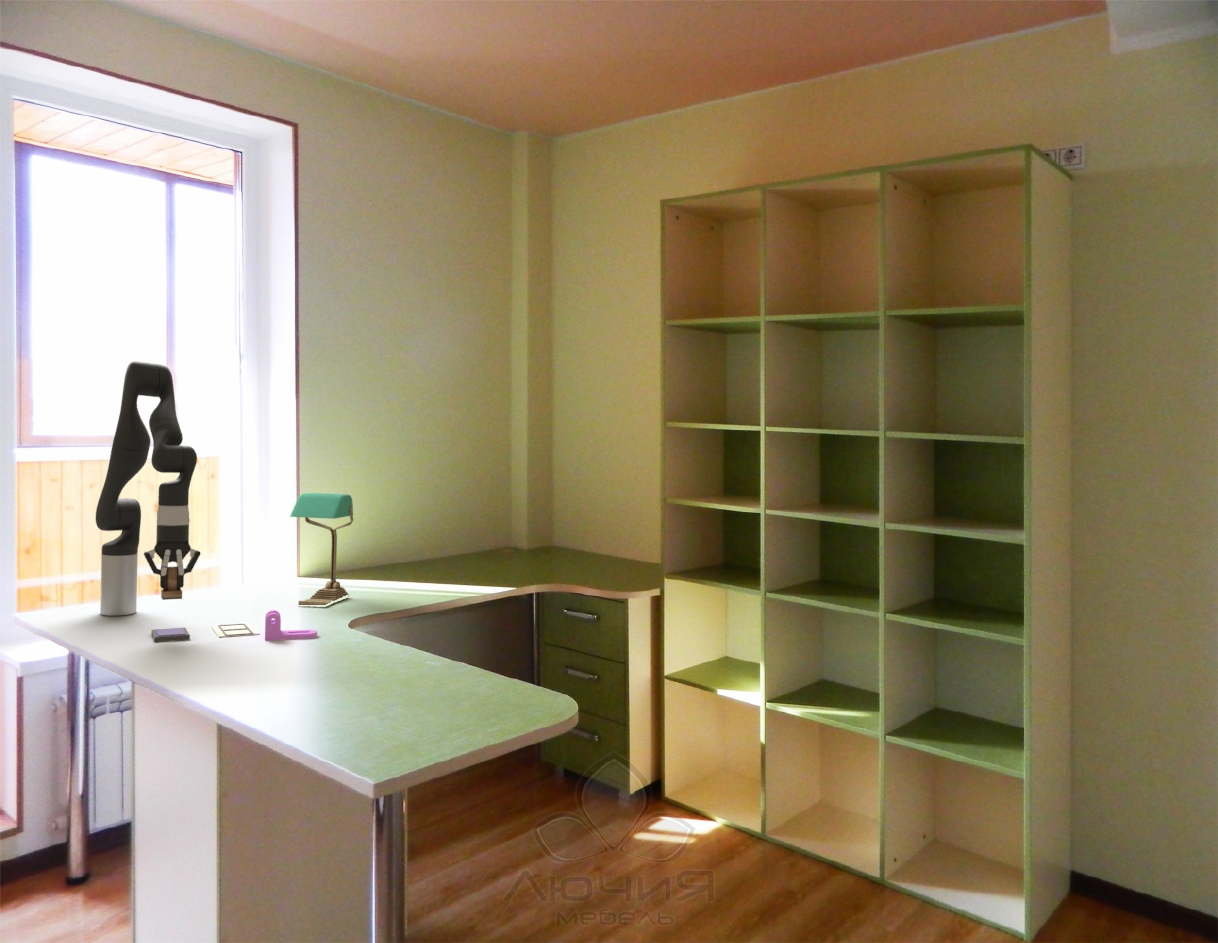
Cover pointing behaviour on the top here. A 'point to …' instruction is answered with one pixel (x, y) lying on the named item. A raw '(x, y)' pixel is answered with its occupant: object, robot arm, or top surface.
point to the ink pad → (170, 634)
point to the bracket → (275, 631)
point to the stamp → (171, 585)
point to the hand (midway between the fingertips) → (171, 589)
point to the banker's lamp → (331, 508)
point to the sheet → (235, 630)
